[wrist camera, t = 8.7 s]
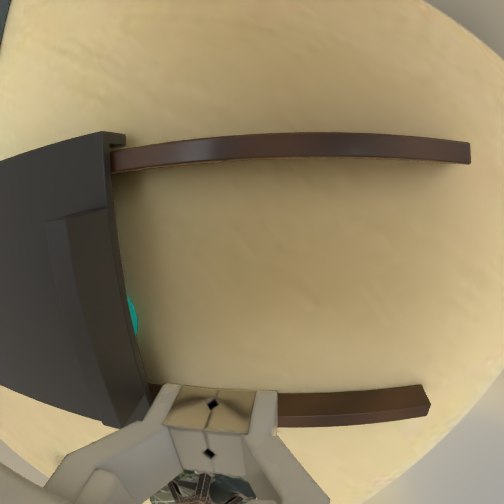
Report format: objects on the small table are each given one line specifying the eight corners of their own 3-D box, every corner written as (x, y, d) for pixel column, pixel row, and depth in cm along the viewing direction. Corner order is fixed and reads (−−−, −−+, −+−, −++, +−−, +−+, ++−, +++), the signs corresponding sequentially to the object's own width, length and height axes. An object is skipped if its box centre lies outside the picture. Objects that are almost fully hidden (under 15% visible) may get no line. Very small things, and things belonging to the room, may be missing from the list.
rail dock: (451, 144, 13) (470, 142, 11) (417, 395, 16) (426, 416, 14) (-41, 195, 17) (-58, 198, 15) (-2, 355, 21) (-15, 365, 19)
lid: (126, 134, 14) (59, 125, 9) (169, 412, 18) (141, 469, 13) (-39, 182, 16) (-87, 192, 11) (7, 369, 20) (-27, 398, 15)
